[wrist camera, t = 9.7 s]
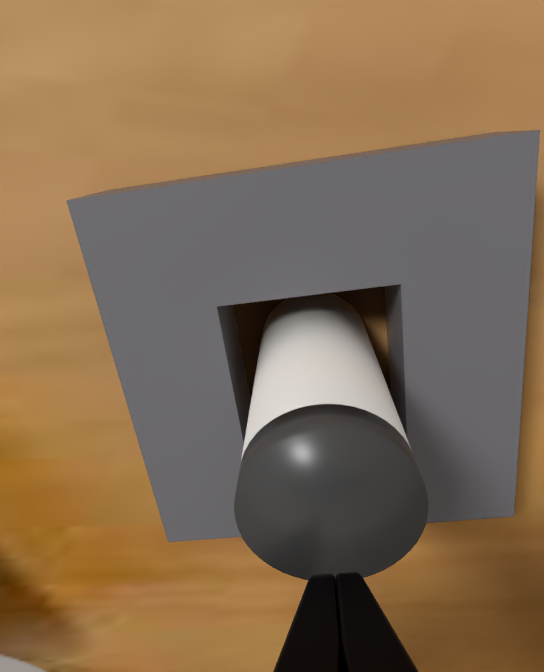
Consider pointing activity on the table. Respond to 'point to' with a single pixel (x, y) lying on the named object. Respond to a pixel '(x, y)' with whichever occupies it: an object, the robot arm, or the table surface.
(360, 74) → the table surface
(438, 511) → the socket block
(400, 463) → the plug
